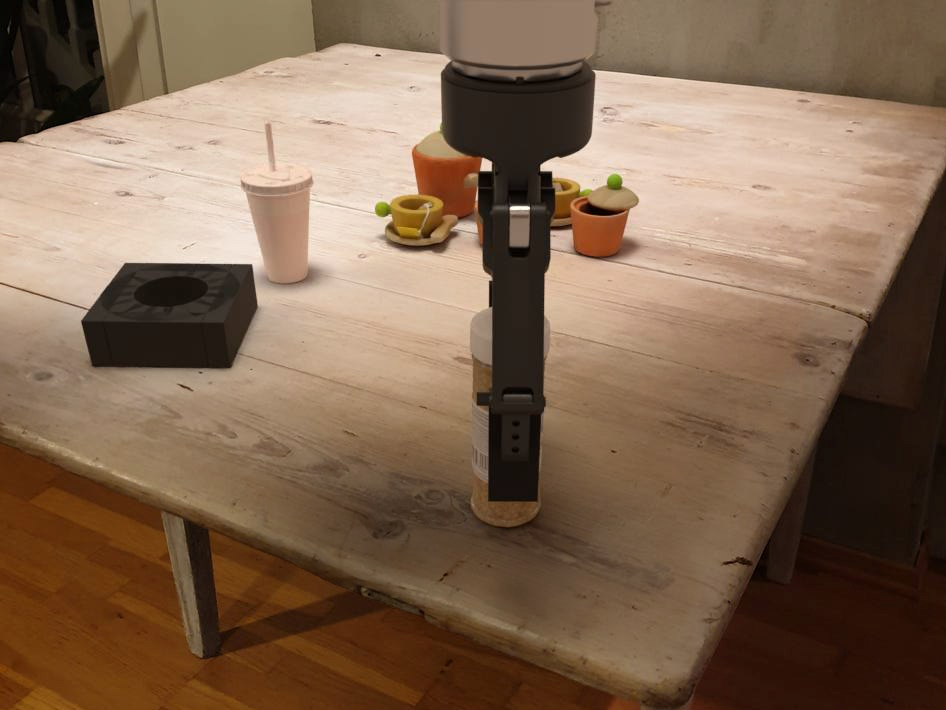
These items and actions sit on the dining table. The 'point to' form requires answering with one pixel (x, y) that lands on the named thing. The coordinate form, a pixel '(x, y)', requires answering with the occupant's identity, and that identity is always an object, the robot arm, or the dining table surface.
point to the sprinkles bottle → (482, 381)
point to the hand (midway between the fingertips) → (510, 430)
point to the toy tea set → (454, 193)
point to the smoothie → (280, 214)
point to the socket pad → (171, 315)
